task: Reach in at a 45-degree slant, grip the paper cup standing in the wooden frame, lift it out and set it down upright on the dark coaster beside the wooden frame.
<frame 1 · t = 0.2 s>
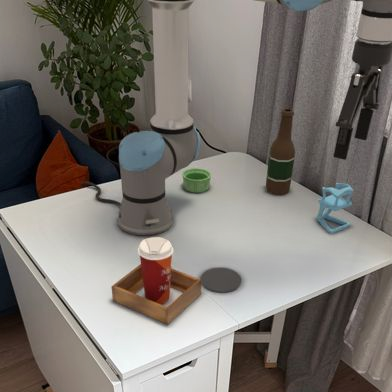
hand: (350, 148, 115), 28 cm above the table, tool pointing down, fingers open, 13 cm apart
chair: (330, 224, 146), on the table
paper cup: (157, 297, 119), resting in wooden frame
beer bottle: (277, 190, 161), on the table
wooden frame: (157, 297, 119), on the table
ramekin: (196, 187, 162), on the table
coaster: (220, 280, 125), on the table
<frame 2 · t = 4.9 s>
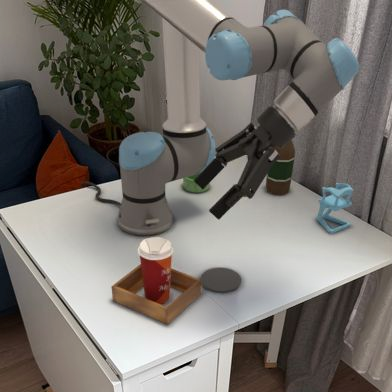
hand: (205, 199, 105), 24 cm above the table, tool tilted 45°, fingers open, 13 cm apart
nothing on the table moved.
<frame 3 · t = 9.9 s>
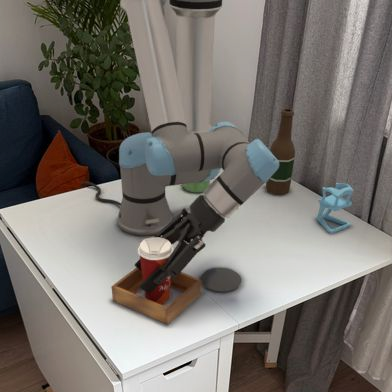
hand: (141, 278, 115), 6 cm above the table, tool tilted 45°, fingers closed on paper cup, 8 cm apart
paper cup: (157, 297, 119), resting in wooden frame, touching gripper
everything else where it was.
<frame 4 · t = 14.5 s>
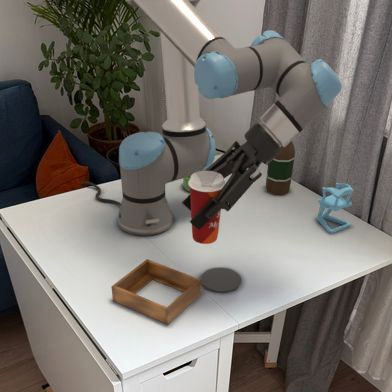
hand: (190, 215, 110), 19 cm above the table, tool tilted 45°, fingers closed on paper cup, 8 cm apart
paper cup: (204, 238, 114), point 13 cm above the table, touching gripper
everything else where it was.
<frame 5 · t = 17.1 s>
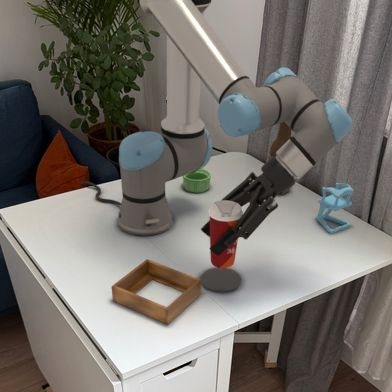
hand: (209, 242, 116), 11 cm above the table, tool tilted 45°, fingers closed on paper cup, 8 cm apart
paper cup: (222, 262, 121), point 5 cm above the table, touching gripper
everything else where it was.
when the fingers open (6 cm above the table, at t = 19.0 s): paper cup stays where it is, resting on coaster.
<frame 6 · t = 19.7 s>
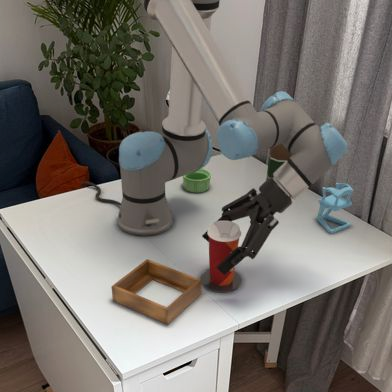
hand: (212, 254, 119), 8 cm above the table, tool tilted 45°, fingers open, 13 cm apart
paper cup: (221, 279, 124), resting on coaster
everything else where it was.
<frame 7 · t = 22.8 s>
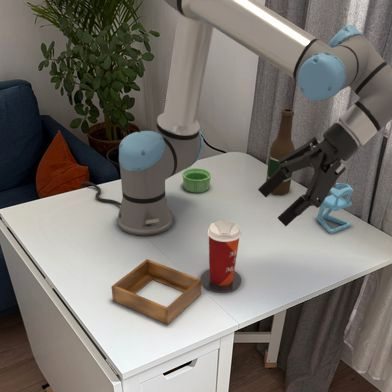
hand: (271, 207, 114), 18 cm above the table, tool tilted 45°, fingers open, 13 cm apart
nothing on the table moved.
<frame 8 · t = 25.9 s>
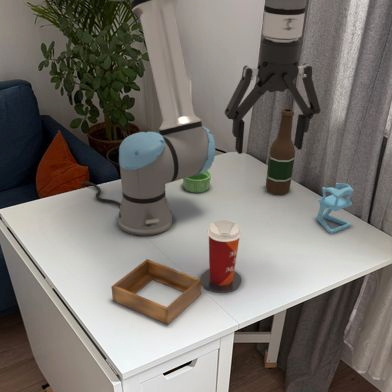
hand: (268, 149, 112), 29 cm above the table, tool pointing down, fingers open, 13 cm apart
nothing on the table moved.
at the end: paper cup 0.1 cm off-centre on the coaster, point 0.3 cm above the coaster's base; paper cup tilted 0°; the gripper is holding nothing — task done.
